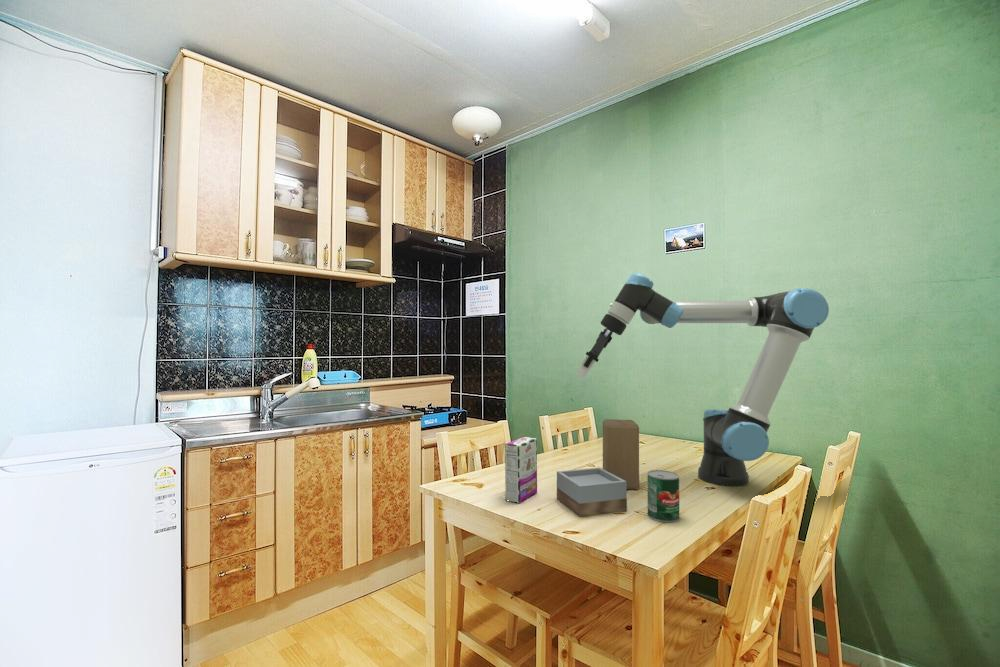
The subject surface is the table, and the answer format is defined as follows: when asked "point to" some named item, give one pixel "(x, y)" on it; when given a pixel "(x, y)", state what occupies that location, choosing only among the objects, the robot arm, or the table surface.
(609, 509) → the walnut block
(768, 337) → the robot arm
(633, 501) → the table surface
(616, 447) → the block
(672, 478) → the canned tomato
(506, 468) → the candy bar box
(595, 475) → the slate grey tray
